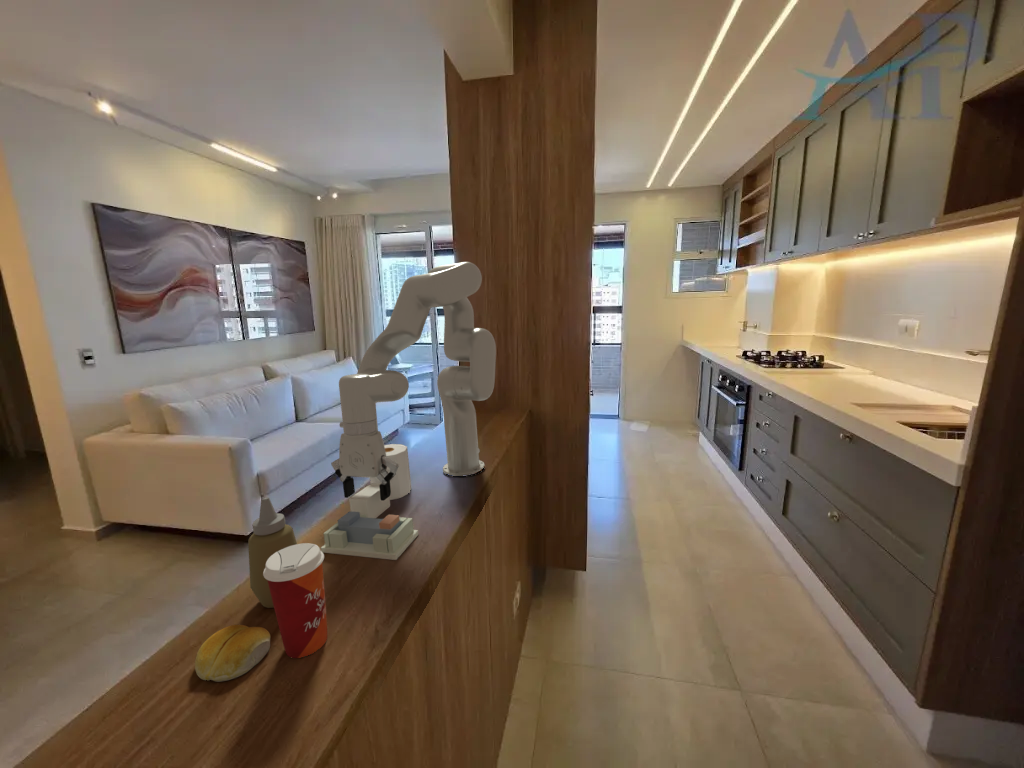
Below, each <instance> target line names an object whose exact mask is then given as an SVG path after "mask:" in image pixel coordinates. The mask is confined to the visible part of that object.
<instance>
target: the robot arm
mask: <svg viewBox="0 0 1024 768" xmlns="http://www.w3.org/2000/svg"><path fill="white" fill-rule="evenodd" d="M482 279H483V277H482V273H481V270H480V269H479V267H478V266H477V265H476V264H475V263H473V262H470V261H461V262H457V263H450V264H443V265H442V264H441V265H438V266H435V267H433V268H431V269H430V270H429V271H428V273H424V274H416V275H412V276H410V277H408V278H406V280H405V281H404V282H403V284H402V285H401V288H400V291H399V293H398V296H397V299H396V301H395V305H394V307H393V309H392V312H391V315H390V319H389V320H388V323H387V325H386V326H385V328H384V330H382V332H380V334H379V335H378V336H377V337H376V338H375V339H374V341H373V342H372V343H370V346H368V348H367V350H366V351H365V353H364V355H363V357H362V359H361V362H360V364H359V367H358V370H357V373H353V374H347V375H343V376H341V377H340V378H339V381H338V390H339V399H340V409H341V417H342V421H340V422H339V428H341V429H343V433H341V434H340V439H339V447H338V449H339V451H338V452H339V458H337V459H335V460H333V461H332V462H331V467H332V468H333V470H334V471H335V474H336V476H337V477H338V478H339V481H340V482H342V487H343V494H344V495H343V496H344V499H347V498H348V499H349V498H350V497H352V496H353V494H354V495H355V494H356V493H355V492H356V491H355V490H356V489H355V481H354V480H355V479H354V478H366V479H367V478H369V479H370V478H373V477H377V478H378V479H379V481H380V482H381V484H380V485H379V487H380V498H381V500H382V501H384V500H385V499H387V498H388V497H389V496H390V494H391V488H390V480H391V479H392V478H393V477H394V476H395V475H396V472H397V469H398V467H399V465H398V464H397V463H395V462H394V461H392V460H390V459H388V458H387V457H386V452H385V447H384V445H385V442H384V439H383V436H382V432H381V431H380V430H379V429H378V428H379V426H378V425H379V424H378V415H377V403H381V402H382V403H386V402H387V403H388V402H390V403H391V402H392V403H393V402H396V401H399V400H401V399H403V398H404V397H405V396H406V395H407V393H408V391H409V387H410V385H409V380H408V378H407V377H406V375H404V374H403V373H402V372H400V371H397V370H392V369H387V368H388V366H389V364H390V363H391V361H392V360H393V359H394V358H395V357H396V356H397V355H398V354H399V353H401V352H402V351H404V350H406V349H407V348H409V347H411V346H413V345H414V344H415V343H417V342H418V341H419V340H420V339H421V337H422V334H423V331H424V327H425V324H426V321H427V318H428V316H429V313H430V310H431V308H440V307H442V309H443V313H444V315H443V316H444V327H443V330H444V331H443V352H444V355H445V357H446V358H447V359H449V360H450V361H454V362H465V363H466V362H469V366H466V365H451V366H447V367H445V368H443V369H442V370H441V371H440V372H439V374H438V376H437V381H436V383H437V390H438V394H439V397H440V401H441V404H442V405H441V406H442V412H443V423H444V424H443V425H444V435H445V436H444V437H445V447H446V459H447V463H446V464H444V465H443V467H442V472H443V474H445V473H446V474H449V475H453V476H463V475H469V474H472V473H475V472H478V471H480V470H481V469H483V468H484V466H485V467H486V465H485V462H484V461H482V460H480V455H479V453H480V452H481V449H480V448H479V442H478V441H479V440H478V429H477V428H478V427H477V426H478V425H477V413H476V412H477V410H476V408H475V405H474V403H473V401H477V402H480V401H485V400H488V399H489V398H490V397H491V396H492V394H493V392H494V388H495V379H496V362H497V361H496V360H497V359H496V357H497V345H496V341H495V340H496V339H495V338H494V336H493V334H492V332H490V331H489V330H488V329H486V328H483V327H482V328H481V327H475V316H474V315H475V313H474V312H475V311H474V308H473V305H472V303H471V301H470V300H469V298H468V297H471V295H472V296H473V295H474V294H475V293H477V292H478V291H479V289H480V287H481V285H482V281H483V280H482ZM387 467H389V468H390V472H389V473H388V472H387V471H386V469H387ZM484 469H485V468H484ZM381 473H382V474H381ZM446 474H445V475H446ZM453 476H452V477H453ZM384 477H385V478H384Z"/></svg>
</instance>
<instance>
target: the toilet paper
mask: <svg viewBox="0 0 1024 768" xmlns="http://www.w3.org/2000/svg"><path fill="white" fill-rule="evenodd" d="M384 447H385V452H386V457H387V458H388V459H390V460H392V461H394V462H395V463H397V464H398V465H399V467H398V469H397V472H396V475H395V476H394V477H393V478H392V479H391V480H390V488H391V494H390V496H389V499H390V501H392V500H397V499H401V498H403V497H405V496H407V495H409V494H410V492H411V491H410V490H412V479H411V470H410V461H409V451H408V446H406V445H404V444H398V443H396V444H395V443H391V444H384ZM386 471H387V472H388V473H389V472H390V468H389V467H387V469H386ZM381 474H382V473H381ZM384 478H385V477H384ZM370 480H371V481H370ZM369 482H370V484H371V483H381V482H380V481H379V479H378V478H377V477H373V478H369ZM370 484H369V485H370ZM408 493H409V494H408Z"/></svg>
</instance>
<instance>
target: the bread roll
mask: <svg viewBox="0 0 1024 768" xmlns="http://www.w3.org/2000/svg"><path fill="white" fill-rule="evenodd" d="M270 647H271V634H270V632H269V631H268V630H267V629H266V628H264V627H261V626H250V627H249V626H248V625H244V624H230V625H228V626H225V627H223V628H221V629H220V630H216V632H215V633H213V634H212V635H210V636H209V637H208V638H206V640H205V641H204V642H203V643H202V644H201V646H200V647H199V649H198V651H197V653H196V657H195V661H194V669H195V672H196V675H197V676H198V677H199V679H201V680H203V681H206V680H207V681H210V680H211V681H213V682H217V683H218V682H220V683H221V682H226V681H230V680H234V679H237V678H239V677H241V676H243V675H245V674H247V673H248V672H249V671H250V670H251V669H253V668H254V667H255V666H256V665H258V664H259V663H260V662H261V661H262V660H263V658H264V657H266V655H267V654H268V652H269V651H270Z"/></svg>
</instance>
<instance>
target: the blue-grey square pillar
mask: <svg viewBox="0 0 1024 768" xmlns="http://www.w3.org/2000/svg"><path fill="white" fill-rule="evenodd" d="M399 517H400V515H399V514H387V515H386V516H385V517H384V518H378V517H377V518H364V517H360V512H352V511H351V510H349V511H348V512H347V513H345V514H344V515H342V516H341V517H340V518H339V519H338V520H337V522H338V527H339V530H340V531H346V533H347V541H348V542H353V543H364V544H373V537H374V536H375V535H376V534H386V535H390V536H391V535H392V534H393V533H394V532H395V531H396V530H397V529H398V528H399V527H400V526H401V523H400V519H399Z"/></svg>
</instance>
